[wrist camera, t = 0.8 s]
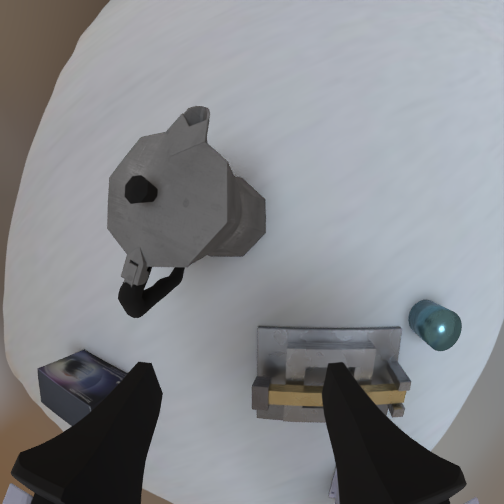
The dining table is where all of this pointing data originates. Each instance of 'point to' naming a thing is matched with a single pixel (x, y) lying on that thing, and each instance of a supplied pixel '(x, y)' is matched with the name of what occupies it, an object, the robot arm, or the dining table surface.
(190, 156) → the coffeepot
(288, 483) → the dining table surface
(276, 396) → the pin
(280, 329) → the dock
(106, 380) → the small box
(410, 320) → the teal glass cylinder
